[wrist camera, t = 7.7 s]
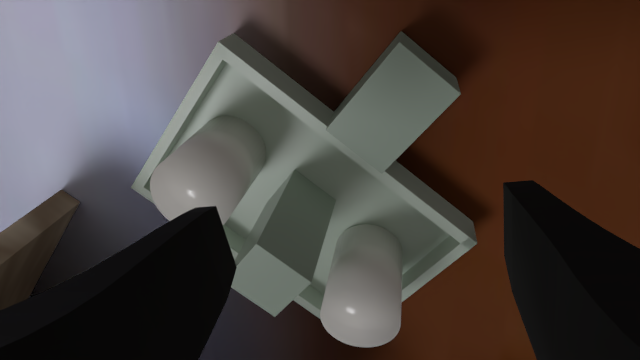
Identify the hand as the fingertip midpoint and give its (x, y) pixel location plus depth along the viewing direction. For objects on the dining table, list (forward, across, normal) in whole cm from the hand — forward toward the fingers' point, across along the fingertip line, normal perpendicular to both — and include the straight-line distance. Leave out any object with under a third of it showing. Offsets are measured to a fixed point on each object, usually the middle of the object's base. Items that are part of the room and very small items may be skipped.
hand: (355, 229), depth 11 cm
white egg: (+9, +7, +1) cm, 12 cm away
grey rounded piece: (+9, +2, +7) cm, 12 cm away
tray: (+10, +3, +3) cm, 11 cm away
